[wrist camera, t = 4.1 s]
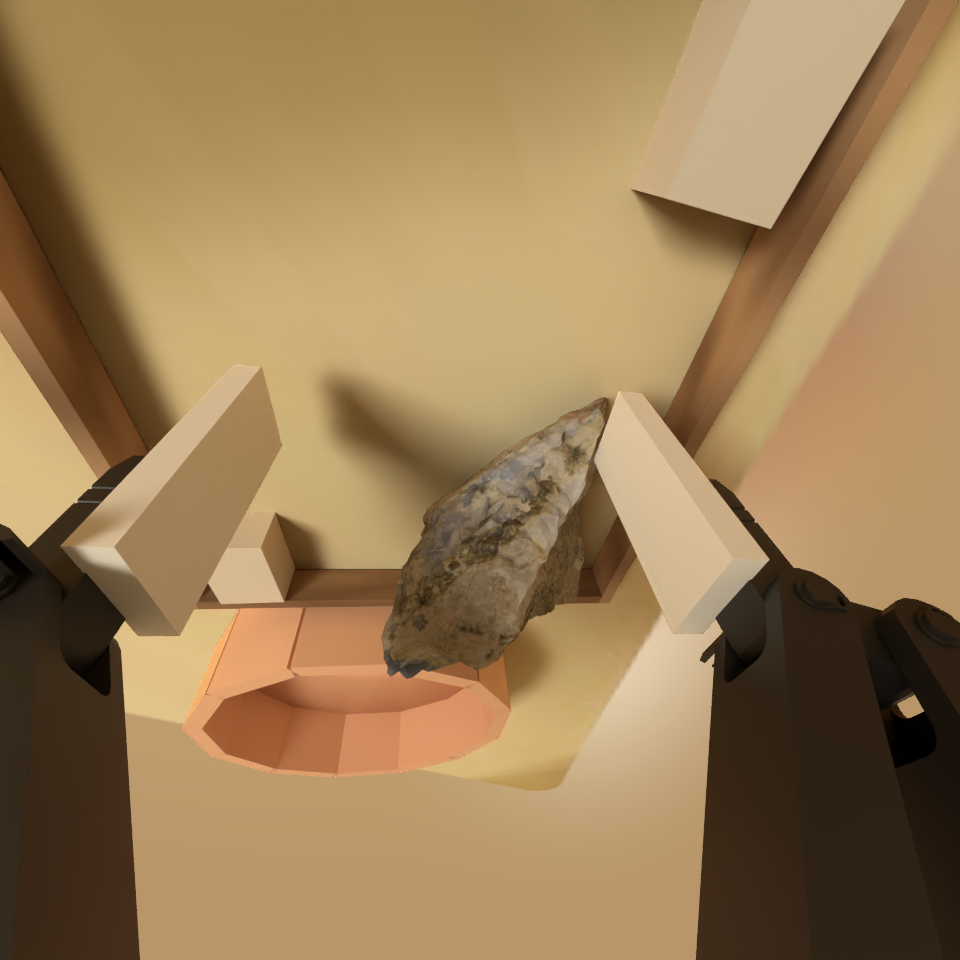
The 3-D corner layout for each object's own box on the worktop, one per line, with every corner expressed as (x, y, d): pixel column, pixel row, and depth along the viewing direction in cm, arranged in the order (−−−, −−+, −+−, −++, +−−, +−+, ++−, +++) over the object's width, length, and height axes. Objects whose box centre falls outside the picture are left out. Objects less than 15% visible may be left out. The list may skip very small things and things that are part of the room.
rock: (644, 394, 14) (598, 564, 21) (501, 358, 17) (500, 519, 24) (457, 651, 7) (477, 784, 14) (267, 523, 10) (358, 685, 17)
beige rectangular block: (711, -33, 9) (783, -77, 7) (820, 15, 9) (912, -14, 8) (628, 188, 11) (666, 198, 9) (719, 214, 12) (770, 229, 10)
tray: (-398, -492, 5) (-692, -716, 4) (945, -103, 8) (1045, -150, 7) (201, 577, 20) (184, 609, 19) (598, 575, 23) (609, 602, 22)
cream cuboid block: (209, 509, 18) (186, 549, 16) (276, 509, 18) (260, 547, 16) (238, 565, 20) (220, 604, 19) (296, 564, 21) (284, 602, 19)
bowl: (176, 583, 20) (125, 673, 17) (518, 581, 23) (533, 658, 19) (260, 715, 32) (239, 784, 28) (481, 703, 34) (486, 766, 31)
